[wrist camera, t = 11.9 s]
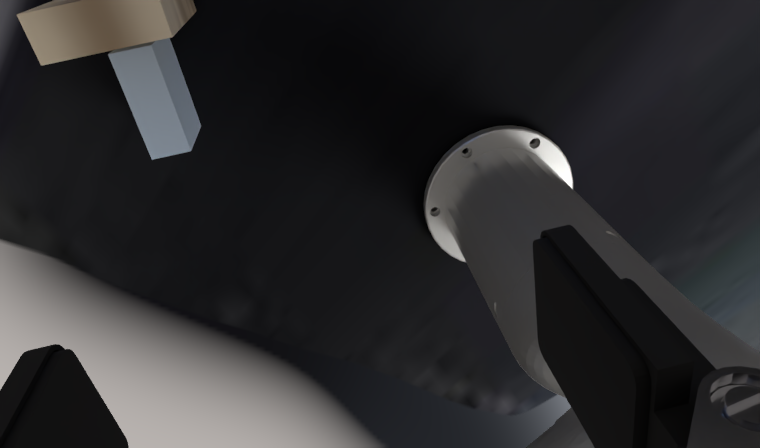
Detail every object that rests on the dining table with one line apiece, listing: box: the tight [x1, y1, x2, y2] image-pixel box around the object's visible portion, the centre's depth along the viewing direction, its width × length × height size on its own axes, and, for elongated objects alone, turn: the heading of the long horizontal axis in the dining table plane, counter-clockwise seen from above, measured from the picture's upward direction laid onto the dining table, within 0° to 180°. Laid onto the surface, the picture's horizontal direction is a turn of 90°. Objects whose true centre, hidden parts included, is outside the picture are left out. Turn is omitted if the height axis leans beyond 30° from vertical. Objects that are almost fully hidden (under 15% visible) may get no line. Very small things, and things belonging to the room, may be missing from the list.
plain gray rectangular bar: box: [108, 38, 201, 160], centre depth 35 cm, size 18×3×5 cm, turn 10°
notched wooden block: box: [17, 0, 196, 66], centre depth 33 cm, size 7×3×9 cm, turn 100°
